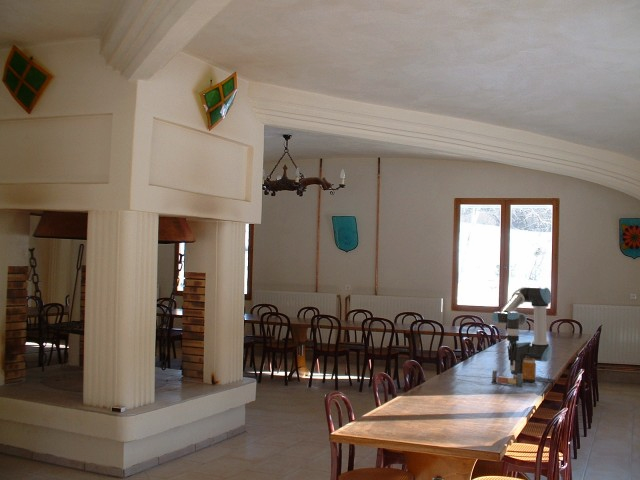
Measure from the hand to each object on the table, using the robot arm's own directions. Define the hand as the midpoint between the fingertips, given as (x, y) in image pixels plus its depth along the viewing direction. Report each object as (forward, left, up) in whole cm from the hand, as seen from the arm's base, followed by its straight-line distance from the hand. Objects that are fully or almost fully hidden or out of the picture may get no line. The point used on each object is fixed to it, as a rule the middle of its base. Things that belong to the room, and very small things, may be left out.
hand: (512, 370), depth 468 cm
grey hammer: (+6, +5, -9) cm, 12 cm away
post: (+5, -10, -9) cm, 15 cm away
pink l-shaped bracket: (+5, -1, -9) cm, 10 cm away
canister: (-17, +4, -9) cm, 20 cm away
